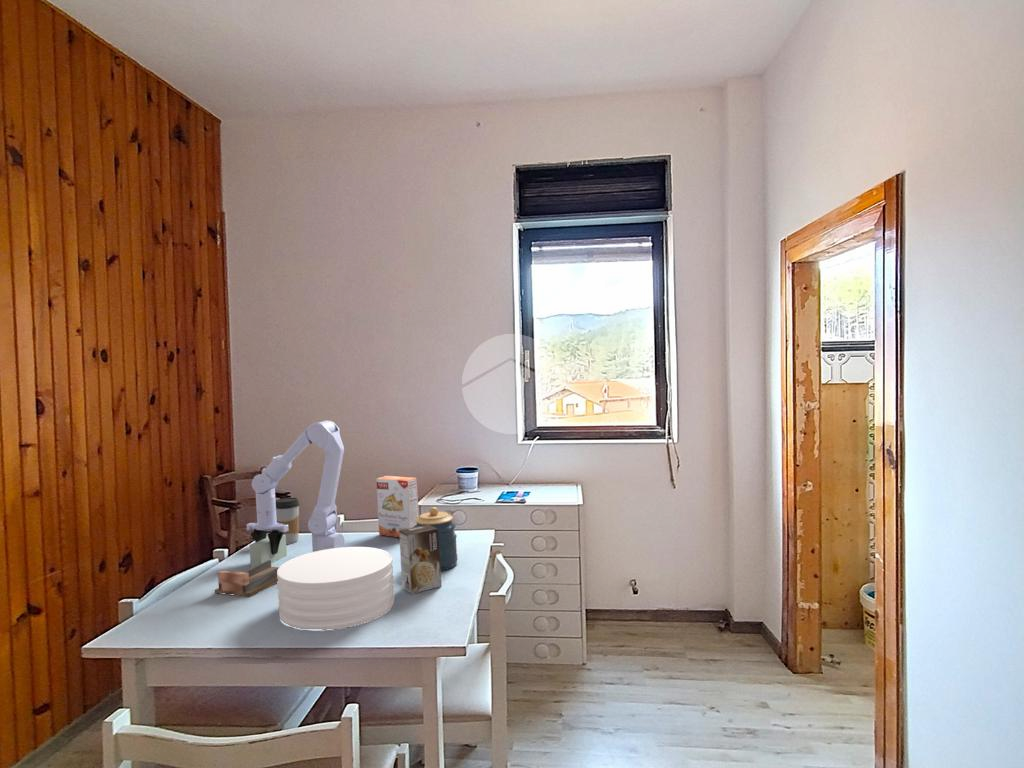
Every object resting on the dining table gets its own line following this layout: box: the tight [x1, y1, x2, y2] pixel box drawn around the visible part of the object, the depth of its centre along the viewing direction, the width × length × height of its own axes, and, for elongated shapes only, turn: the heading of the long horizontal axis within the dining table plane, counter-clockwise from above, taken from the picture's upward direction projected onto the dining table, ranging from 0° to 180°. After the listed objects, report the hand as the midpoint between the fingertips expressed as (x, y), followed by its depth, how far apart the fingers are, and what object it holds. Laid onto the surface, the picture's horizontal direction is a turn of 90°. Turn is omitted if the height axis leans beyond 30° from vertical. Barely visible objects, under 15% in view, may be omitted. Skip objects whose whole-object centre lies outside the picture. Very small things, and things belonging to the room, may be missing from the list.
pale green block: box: [249, 535, 288, 568], centre depth 198 cm, size 4×12×7 cm, turn 162°
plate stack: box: [277, 546, 395, 630], centre depth 157 cm, size 28×28×12 cm
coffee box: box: [398, 525, 442, 595], centre depth 169 cm, size 9×6×16 cm
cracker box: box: [376, 475, 420, 538], centre depth 221 cm, size 14×6×21 cm, turn 62°
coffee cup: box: [275, 497, 300, 545], centre depth 219 cm, size 8×8×15 cm
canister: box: [413, 506, 458, 572], centre depth 187 cm, size 13×13×18 cm
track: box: [214, 560, 280, 597], centre depth 178 cm, size 12×20×6 cm, turn 162°
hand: (268, 553), depth 198 cm, fingers closed on pale green block, 4 cm apart
